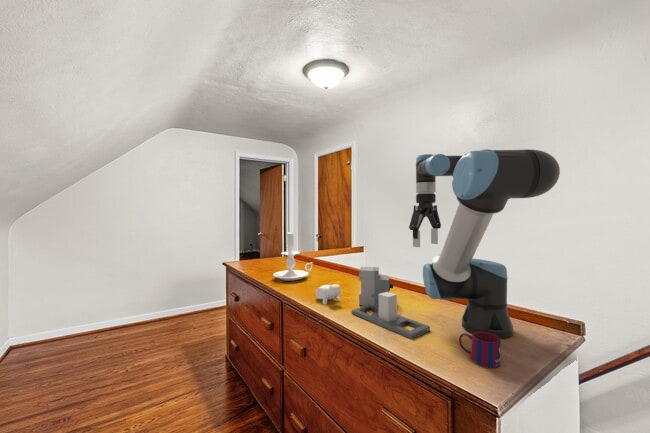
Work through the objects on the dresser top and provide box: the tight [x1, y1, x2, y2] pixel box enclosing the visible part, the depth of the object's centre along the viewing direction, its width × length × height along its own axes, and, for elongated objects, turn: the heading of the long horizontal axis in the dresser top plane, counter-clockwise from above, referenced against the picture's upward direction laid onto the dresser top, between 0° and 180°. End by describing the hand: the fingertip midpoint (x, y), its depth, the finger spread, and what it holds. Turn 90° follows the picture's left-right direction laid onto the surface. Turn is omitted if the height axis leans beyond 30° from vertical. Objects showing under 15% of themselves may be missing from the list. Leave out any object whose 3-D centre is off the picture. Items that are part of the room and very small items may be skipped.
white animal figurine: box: [315, 283, 342, 306], centre depth 130 cm, size 9×8×15 cm
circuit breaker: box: [358, 266, 394, 307], centre depth 127 cm, size 8×14×15 cm, turn 78°
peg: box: [378, 291, 398, 322], centre depth 106 cm, size 5×5×10 cm
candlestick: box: [273, 231, 314, 282], centre depth 172 cm, size 21×25×28 cm
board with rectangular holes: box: [351, 305, 431, 340], centre depth 106 cm, size 28×10×2 cm, turn 37°
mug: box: [458, 332, 502, 369], centre depth 79 cm, size 7×10×7 cm
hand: (425, 245), depth 120 cm, fingers open, 13 cm apart
